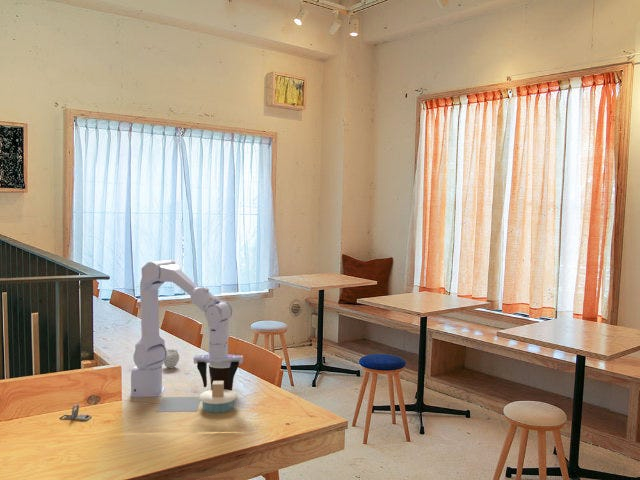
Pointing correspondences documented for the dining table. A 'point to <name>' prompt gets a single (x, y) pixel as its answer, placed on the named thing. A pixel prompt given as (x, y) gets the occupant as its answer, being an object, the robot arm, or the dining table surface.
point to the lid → (217, 394)
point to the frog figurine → (171, 358)
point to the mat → (178, 404)
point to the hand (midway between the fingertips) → (218, 386)
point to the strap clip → (76, 415)
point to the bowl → (217, 407)
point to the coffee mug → (220, 374)
